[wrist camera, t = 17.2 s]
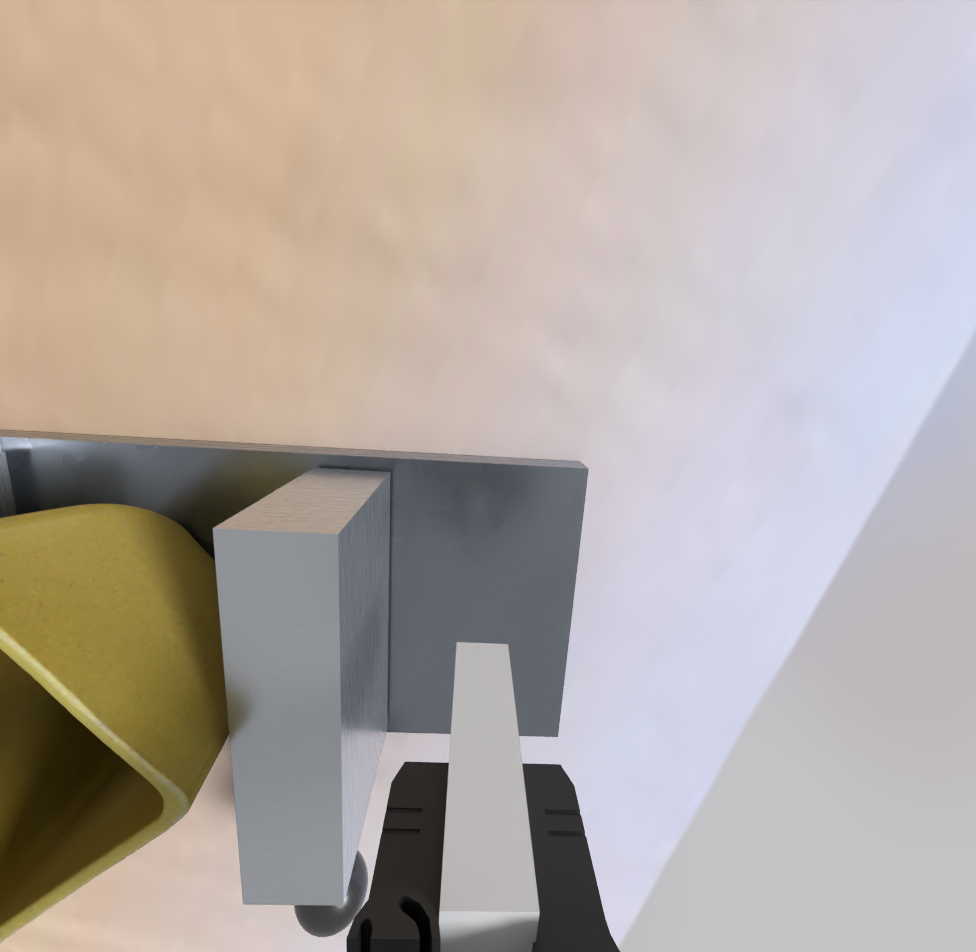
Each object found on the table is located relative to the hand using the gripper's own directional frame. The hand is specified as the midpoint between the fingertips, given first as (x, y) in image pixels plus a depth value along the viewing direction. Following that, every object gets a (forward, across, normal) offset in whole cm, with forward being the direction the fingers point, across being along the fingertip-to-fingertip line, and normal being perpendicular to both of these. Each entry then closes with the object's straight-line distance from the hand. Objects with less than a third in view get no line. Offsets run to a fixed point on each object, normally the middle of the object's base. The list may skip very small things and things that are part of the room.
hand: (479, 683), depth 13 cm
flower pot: (+7, -13, -1) cm, 14 cm away
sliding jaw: (+6, -5, -4) cm, 9 cm away
